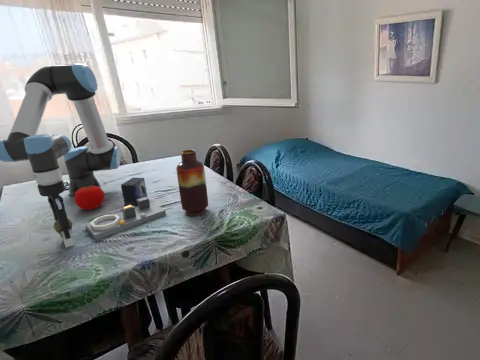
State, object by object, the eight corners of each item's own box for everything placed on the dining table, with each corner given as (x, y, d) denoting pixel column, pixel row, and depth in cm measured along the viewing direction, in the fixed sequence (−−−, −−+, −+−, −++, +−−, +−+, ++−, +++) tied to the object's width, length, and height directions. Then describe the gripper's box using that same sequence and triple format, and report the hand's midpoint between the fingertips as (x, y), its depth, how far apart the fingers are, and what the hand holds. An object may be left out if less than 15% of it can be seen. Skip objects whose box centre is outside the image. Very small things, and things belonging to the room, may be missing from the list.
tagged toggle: (123, 216, 120) (121, 207, 118) (133, 213, 122) (131, 204, 121) (126, 219, 118) (124, 209, 116) (136, 215, 120) (134, 206, 118)
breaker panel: (86, 228, 117) (84, 220, 116) (152, 205, 134) (151, 198, 133) (96, 240, 108) (93, 231, 107) (166, 214, 124) (164, 206, 123)
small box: (137, 206, 134) (132, 185, 131) (124, 206, 136) (119, 184, 132) (148, 197, 144) (144, 177, 141) (136, 197, 145) (132, 177, 142)
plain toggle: (138, 207, 128) (136, 199, 126) (147, 204, 130) (145, 196, 129) (141, 209, 125) (139, 201, 124) (150, 206, 128) (148, 198, 127)
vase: (213, 207, 128) (207, 148, 119) (202, 218, 118) (194, 155, 110) (190, 205, 132) (182, 147, 123) (177, 216, 122) (168, 154, 113)
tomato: (72, 212, 134) (66, 190, 130) (93, 201, 144) (88, 180, 141) (91, 214, 130) (85, 192, 126) (111, 203, 140) (106, 182, 137)
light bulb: (64, 239, 109) (56, 215, 106) (79, 238, 110) (72, 213, 106) (56, 247, 104) (48, 222, 101) (73, 246, 105) (65, 220, 101)
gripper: (32, 179, 104) (51, 237, 111) (41, 191, 90) (61, 257, 98) (57, 173, 108) (73, 230, 116) (68, 185, 95) (86, 248, 102)
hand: (67, 242), depth 107 cm, fingers closed on light bulb, 5 cm apart
